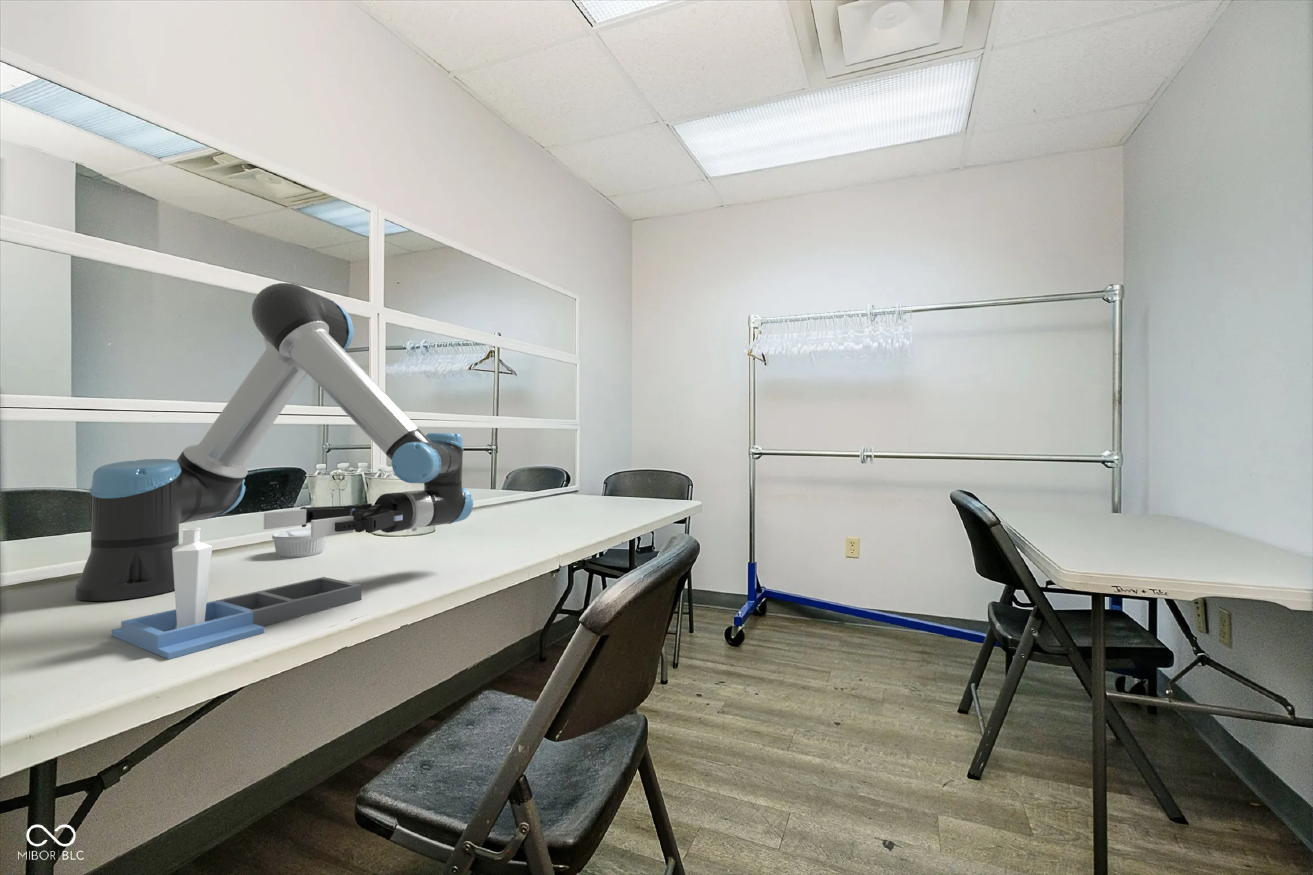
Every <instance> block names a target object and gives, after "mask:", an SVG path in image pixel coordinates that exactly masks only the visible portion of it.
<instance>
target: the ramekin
mask: <svg viewBox="0 0 1313 875" xmlns="http://www.w3.org/2000/svg"><path fill="white" fill-rule="evenodd" d="M271 537H272V538H271V539H272V540H273V545H274V548H275V553H276V555H277V556H278V557H279V558H285V559H287V558H288V559H296V558H295V557H298V558H306V557H305V556H307V557H312V556H317V555H320V554H322V553H323V552H324V550H325V548H326V543H327V539H328V536H325V537H318V538H311V528H301V529H289V530H284V531H280V532H275V533H273V534H272V536H271ZM319 553H320V554H319ZM293 557H294V558H293Z"/></svg>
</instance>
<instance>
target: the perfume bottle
mask: <svg viewBox="0 0 1313 875" xmlns="http://www.w3.org/2000/svg"><path fill="white" fill-rule="evenodd" d="M201 530H202V528H201V527H188V528H182V532H183V533H182V543H179V545H178V546H176V547H174V548H172V556H173V571H174V587H175V590H174V599H175V609H176V617H177V626H176V628H175V629H178V628H182V627H186V626H190V625H194V624H198V623H202V622H206V621H205V612H206V603H207V602H208V593H209V592H208V591H209V581H210V574H211V573H210V572H211V564H212V554H213V553H212V551H213V546H212V545H210V544H209V543H205V542H202V541H200V540H201V537H200V536H201Z"/></svg>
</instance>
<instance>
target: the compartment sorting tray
mask: <svg viewBox="0 0 1313 875" xmlns="http://www.w3.org/2000/svg"><path fill="white" fill-rule="evenodd" d="M362 590H363V589H362V584H358V583H353V582H348V581H343V580H340V579H336V578H335V579H334V578H330V577H325V576H321V577H318V578H313V579H309V580H307V579H306V580H304V581H303V580H302V581H299V582H294V583H290V584H285V585H281V586H276V587H272V588H267V589H262V590H257V591H253V592H249V593H244V594H239V595H236V596H231V597H226V598H222V599H217V600H216V599H215V600H212V601H207V602H206V612H205V622H202V623H198V624H194V625H190V626H186V627H182V628H178V629H176V626H177V617H176V608H174V609H171V610H167V611H163V612H158V613H153V614H149V615H144V616H139V617H134V618H130V619H125V620H121V622H120V627H118V628H113V629H111V636H112V637H115V638H118V639H119V640H121V641H124V642H125V643H129V644H131V645H133V646H136V647H138V648H141V649H142V650H145V651H148V652H150V653H153V654H155V655H158V656H160V657H162V658H164V659H166V660H172V659H175V657H176V658H179V657H183V656H186V655H190V654H194V653H196V652H200V651H204V650H207V649H211V648H214V647H217V646H221V645H225V644H229V643H231V642H236V641H239V640H243V639H245V638H250V637H253V636H256V635H260V634H264V633H265V627H266V626H269V625H272V624H277V623H279V622H283V621H287V620H291V619H295V618H299V617H302V616H305V615H308V614H313V613H316V612H320V610H321V611H325V610H328V609H332V608H335V607H338V606H342V605H346V604H350V603H353V602H356V601H361V600H362V596H363V595H362V592H363V591H362ZM276 622H277V623H276ZM228 642H229V643H228Z"/></svg>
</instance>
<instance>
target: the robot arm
mask: <svg viewBox="0 0 1313 875" xmlns="http://www.w3.org/2000/svg"><path fill="white" fill-rule="evenodd" d="M252 302H253V303H252V305H251V316H252V320H253V323H254V324H255V327H256V328H257V329H258V332H259V333H260V334H261V335H262V336H263V338H262V339H263V341H264V344H265V350H264V352H263V353H262V355H261V356H260V357H259V359H258V360H257V362H256V363H255V364H254V366H253V367H252V368H251V370H250V371H249V372H248V374H247V375H246V377H245V378H244V380H243V381H242V383H241V384H240V385H239V387H238V388H237V389H236V391H235V393H233V395H232V397H231V398H230V399H229V401H228V403H226V405H225V406H224V408H223V409H222V410H221V412H220V413H219V415H218V416H217V418H216V419H215V421H214V422H213V424H212V425H211V426H210V428H209V429H208V430H207V432H206V433H205V435H204V437H203V438H202V439H201V441H200V442H199V443H198V444H194V445H189V446H186V447H185V448H184V449H183V450H182V452H181V453H180V454H179V456H178V457H177V459H172V458H171V459H169V458H149V459H137V460H126V461H125V460H124V461H119V462H112V463H107V464H104V465H101V466H100V467H98V468H96V470H94V472H93V474H92V481H91V486H90V490H89V493H90V553H89V555H88V557H87V559H86V563H85V565H84V568H83V571H82V574H81V576H80V579H78V581H77V582H76V584H75V599H77V600H79V601H80V600H81V601H86V602H87V601H88V602H105V601H107V602H108V601H121V600H128V599H137V598H138V599H139V598H143V597H150V596H154V595H155V596H156V595H160V594H164V593H169V592H172V591H175V587H174V571H173V556H172V548H174V547H176V546H178V545H180V525H181V524H185V523H186V524H187V523H191V522H197V521H205V520H208V519H209V520H210V519H211V520H212V519H215V518H216V517H219V516H221V515H224V514H227V513H228V512H230V511H232V510H234V509H235V508H236V507H237V506H238V505H239V503H240V502H242V500H243V497H244V495H245V492H246V485H245V482H246V480H245V478H246V476H247V475H248V472H249V471H248V468H247V466H246V463H247V461H249V459H250V457H251V456H252V454H253V452H255V449H256V448H257V447H258V446H259V444H260V443H261V441H262V440H263V438H264V437H265V435H266V434H267V433H268V431H269V430H270V428H271V427H272V425H273V424H274V422H275V421H276V420H277V418H278V417H279V415H280V414H281V412H282V411H283V410H284V408H285V406H286V405H287V404H288V403H289V401H290V400H291V398H292V397H293V396H294V394H295V393H296V391H297V389H298V388H299V387H300V385H301V384H302V382H304V381H305V378H306V377H307V375H308V376H310V378H312V379H313V380H314V382H315V383H317V385H318V386H319V387H320V389H322V390H323V391H324V392H325V393H326V394H327V395H328V396H329V398H331V400H333V401H334V402H335V403H336V405H338V406H339V407H340V409H342V411H344V413H345V414H346V415H347V416H348V417H349V418H350V419H351V420H352V421H353V422H354V423H355V424H356V425H357V426H358V427H359V428H360V429H361V431H362V432H363V433H365V435H367V437H369V438H370V440H371V441H372V442H373V443H374V444H375V445H376V446H377V447H378V448H379V449H380V450H381V451H382V452H383V453H384V454H385V455H386V456H387V457H388V458H389V460H390V461H391V467H392V471H393V473H394V475H395V476H396V477H397V478H398V479H400V480H401V481H402V482H405V483H409V484H423V486H424V487H423V490H410V491H409V490H408V491H402V492H390V493H383V494H381V495H380V496H379V497H377V499H376V501H375V502H374V504H372V503H362V504H358V503H357V504H351V505H350V504H348V505H334V506H333V505H332V506H310V507H306V506H302V507H300V508H299V509H291V510H289V509H288V510H282V511H281V510H280V511H270V512H264V513H263V530H273V529H278V528H279V529H280V528H289V527H295V526H301V528H306V527H307V524H309V523H310V529H311V538H318V537H325V536H327V537H329V536H330V537H331V536H337V535H338V536H339V535H345V534H350V533H354V532H356V533H361V532H362V533H363V532H365V533H368V534H372V533H375V532H378V531H381V532H383V533H386V534H387V533H395V532H403V531H407V530H411V531H412V532H418V528H419V529H421V528H425V527H426V528H427V527H432V526H434V527H435V526H442V525H450V524H453V523H458V522H462V521H464V520H466V519H467V518H469V516H471V513H472V512H473V510H474V499H473V498H472V493H471V492H470V491H469V490H468V489H467V488H465V487H463V483H462V482H463V460H464V458H463V457H464V456H463V453H464V443H463V436H462V435H461V434H460V433H453V432H452V433H450V432H447V433H446V432H429V433H427V434H426V435H425V434H424V433H423V432H422V431H421V430H420V428H419V427H418V426H417V425H416V424H415V422H414V421H412V420H411V419H410V417H409V416H407V414H406V413H405V412H404V411H403V410H402V409H401V408H400V407H399V405H397V404H396V403H395V402H394V400H392V399H391V398H390V397H389V396H388V395H387V394H386V392H384V390H383V389H382V388H381V387H380V386H379V385H378V384H377V383H376V382H375V381H374V380H373V379H372V377H370V375H369V374H368V373H366V372H365V370H364V369H363V368H362V367H361V366H360V365H359V364H358V363H357V362H356V361H355V360H354V359H353V357H352V356H350V355H349V354H348V352H346V350H347V349H348V348H349V346H350V345H351V344H352V341H353V339H354V333H355V330H354V328H355V327H354V325H353V324H354V323H353V320H352V318H351V316H350V314H349V313H348V312H347V311H346V309H344V308H343V307H342V306H341V305H339V304H338V303H336V302H335V301H334V300H332V299H330V298H328V297H325V296H323V295H320V294H318V293H316V292H313V291H312V290H309V288H305V287H303V286H301V285H298V284H295V283H288V282H280V283H273V284H271V285H268V286H266V287H265V288H262V289H261V291H259V292H258V293H257V295H256V296H255V298H254V299H253V301H252Z"/></svg>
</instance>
